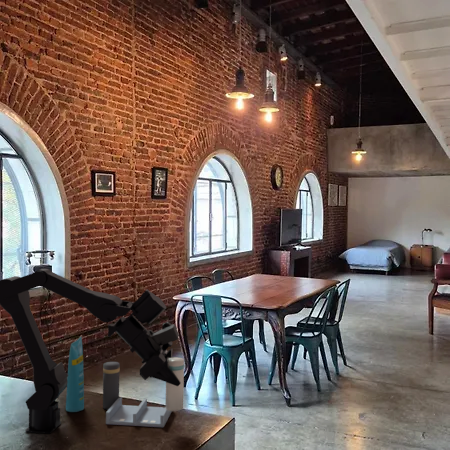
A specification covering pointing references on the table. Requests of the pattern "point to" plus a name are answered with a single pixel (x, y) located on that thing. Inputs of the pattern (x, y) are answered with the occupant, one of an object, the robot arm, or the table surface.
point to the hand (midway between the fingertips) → (180, 381)
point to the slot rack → (137, 414)
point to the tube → (75, 378)
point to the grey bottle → (110, 383)
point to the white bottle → (175, 392)
